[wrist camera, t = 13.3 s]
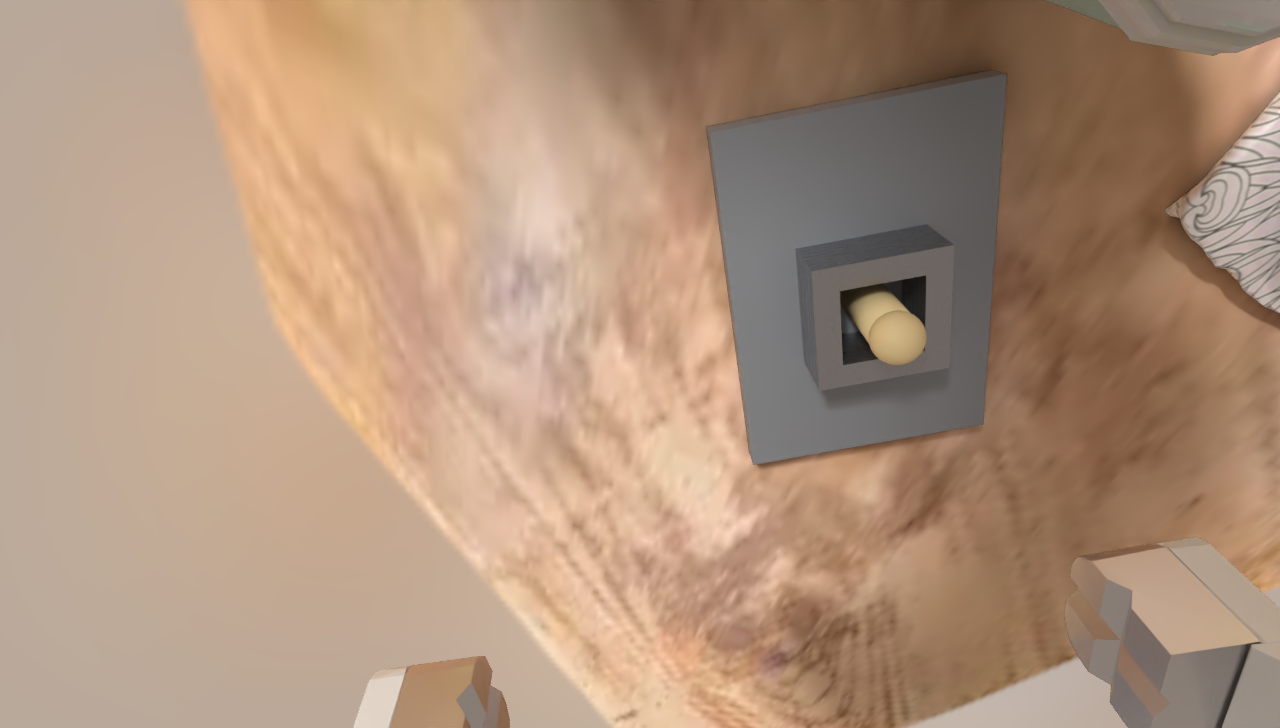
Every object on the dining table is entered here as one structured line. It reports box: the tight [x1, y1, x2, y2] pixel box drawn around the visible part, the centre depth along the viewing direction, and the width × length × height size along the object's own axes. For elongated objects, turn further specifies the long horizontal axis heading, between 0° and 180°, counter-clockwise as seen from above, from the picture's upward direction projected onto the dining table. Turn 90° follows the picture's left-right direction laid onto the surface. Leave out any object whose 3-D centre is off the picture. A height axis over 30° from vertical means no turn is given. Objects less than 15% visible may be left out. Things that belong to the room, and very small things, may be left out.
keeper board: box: [706, 70, 1007, 465], centre depth 36 cm, size 20×14×8 cm
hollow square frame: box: [795, 224, 954, 391], centre depth 36 cm, size 7×7×3 cm
